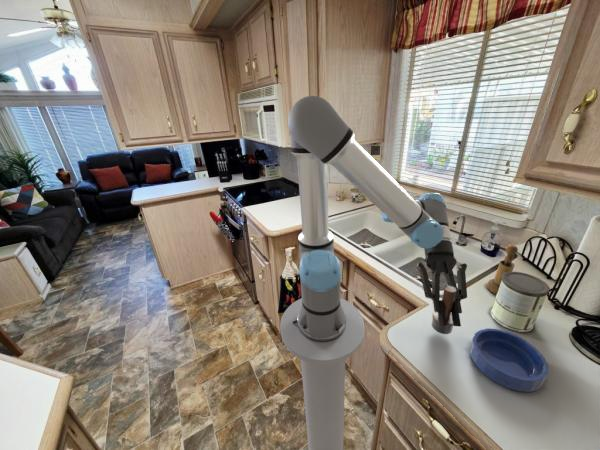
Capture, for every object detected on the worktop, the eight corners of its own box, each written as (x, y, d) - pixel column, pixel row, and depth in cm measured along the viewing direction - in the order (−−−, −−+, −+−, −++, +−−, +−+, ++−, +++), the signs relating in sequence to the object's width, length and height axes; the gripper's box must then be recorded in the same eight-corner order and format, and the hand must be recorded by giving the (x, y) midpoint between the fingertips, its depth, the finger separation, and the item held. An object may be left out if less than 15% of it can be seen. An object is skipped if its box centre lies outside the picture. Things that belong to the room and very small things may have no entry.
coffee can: (489, 302, 83) (501, 267, 77) (530, 314, 77) (546, 277, 72) (490, 323, 75) (503, 286, 69) (535, 337, 70) (554, 298, 64)
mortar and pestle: (513, 291, 87) (530, 247, 80) (504, 298, 84) (520, 253, 77) (492, 281, 92) (506, 239, 85) (483, 288, 90) (496, 244, 82)
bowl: (487, 390, 58) (492, 377, 56) (459, 338, 71) (462, 327, 69) (558, 396, 56) (566, 383, 54) (516, 341, 69) (521, 330, 67)
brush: (434, 334, 70) (443, 295, 64) (428, 319, 75) (435, 281, 69) (456, 335, 69) (466, 296, 64) (447, 320, 74) (457, 282, 69)
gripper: (413, 238, 73) (423, 324, 65) (472, 238, 70) (490, 328, 62) (406, 245, 80) (415, 324, 71) (459, 245, 77) (475, 326, 69)
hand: (450, 325), depth 67 cm, fingers closed on brush, 3 cm apart
